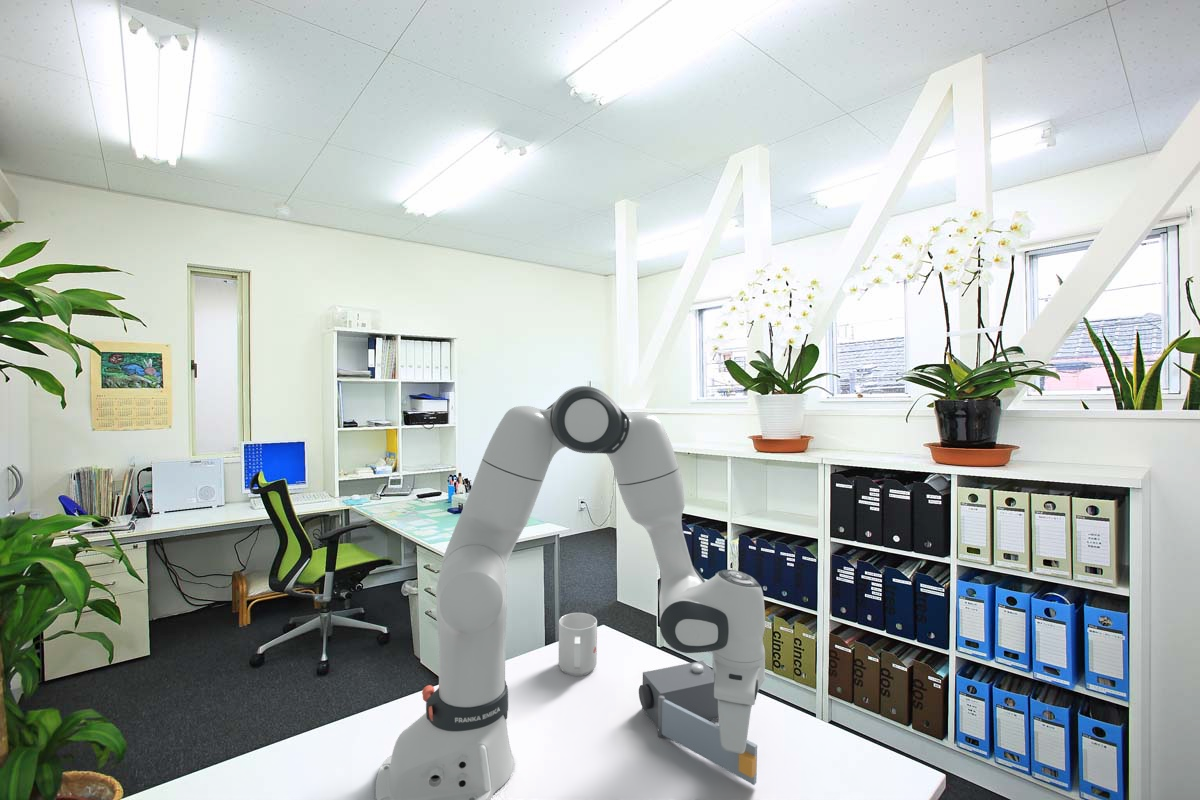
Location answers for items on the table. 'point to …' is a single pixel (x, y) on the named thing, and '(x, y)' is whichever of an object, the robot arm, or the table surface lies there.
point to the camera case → (680, 690)
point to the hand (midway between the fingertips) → (738, 743)
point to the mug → (577, 643)
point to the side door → (704, 739)
